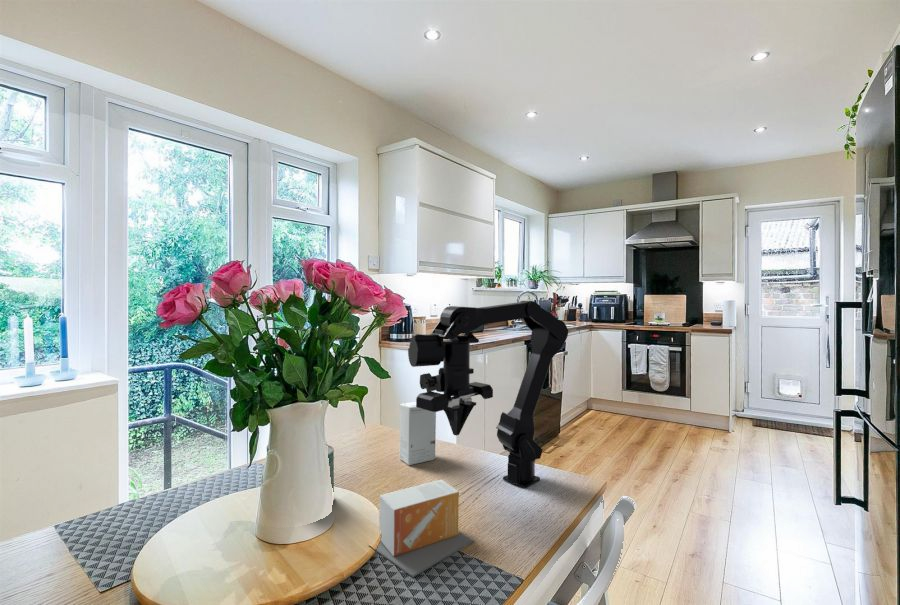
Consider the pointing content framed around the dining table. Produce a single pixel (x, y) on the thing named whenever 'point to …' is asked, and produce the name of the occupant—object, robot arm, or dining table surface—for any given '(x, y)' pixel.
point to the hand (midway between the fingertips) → (456, 434)
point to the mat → (425, 554)
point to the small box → (418, 516)
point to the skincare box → (416, 434)
